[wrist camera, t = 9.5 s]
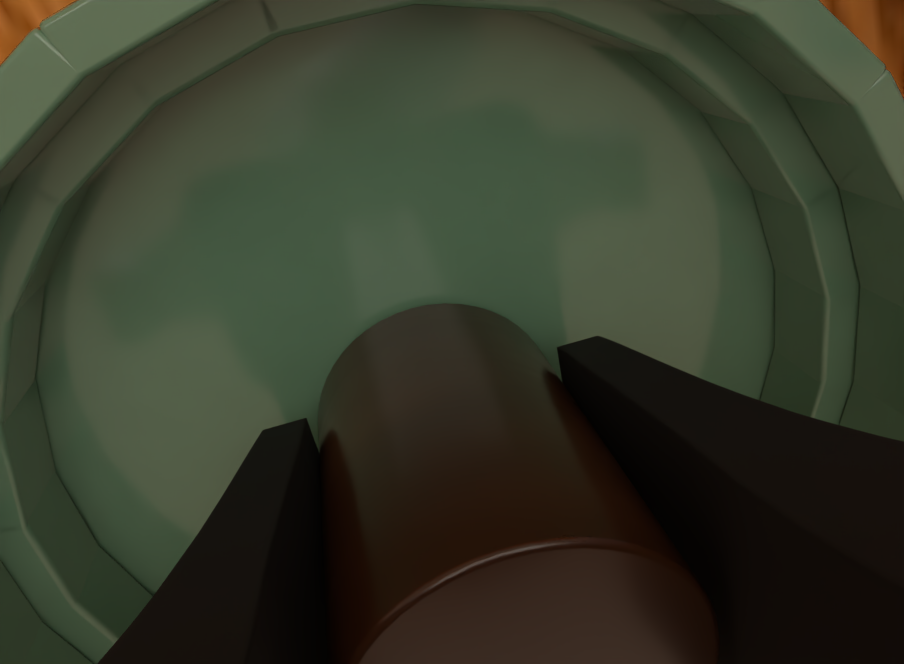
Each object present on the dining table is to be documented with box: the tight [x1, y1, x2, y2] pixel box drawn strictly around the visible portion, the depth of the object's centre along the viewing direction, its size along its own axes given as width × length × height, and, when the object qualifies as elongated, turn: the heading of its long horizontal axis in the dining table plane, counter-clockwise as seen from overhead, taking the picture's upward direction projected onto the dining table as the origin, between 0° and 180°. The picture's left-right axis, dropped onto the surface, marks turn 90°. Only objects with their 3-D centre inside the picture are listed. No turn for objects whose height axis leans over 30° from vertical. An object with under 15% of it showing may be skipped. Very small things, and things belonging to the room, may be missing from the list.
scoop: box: [318, 303, 720, 664], centre depth 10 cm, size 4×9×5 cm, turn 12°
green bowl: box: [0, 0, 904, 664], centre depth 10 cm, size 13×13×3 cm
